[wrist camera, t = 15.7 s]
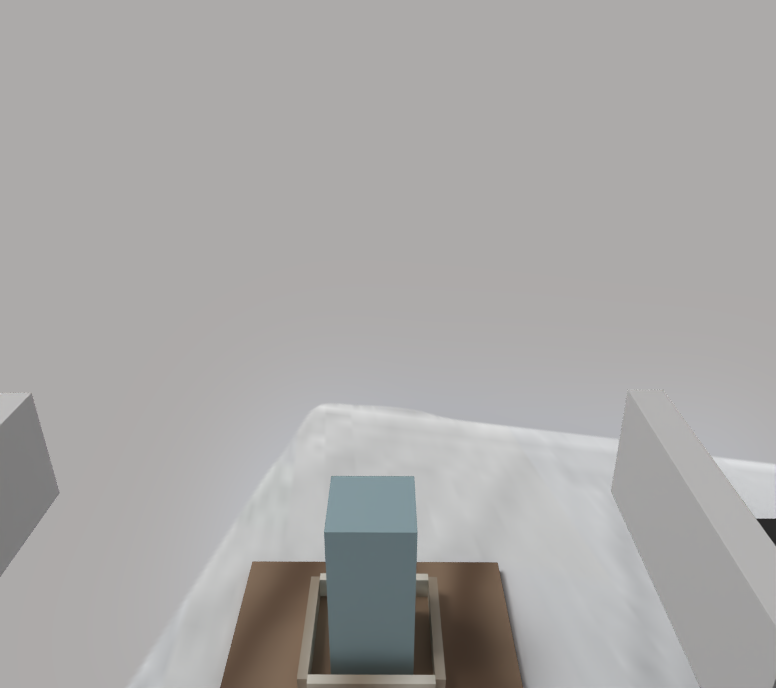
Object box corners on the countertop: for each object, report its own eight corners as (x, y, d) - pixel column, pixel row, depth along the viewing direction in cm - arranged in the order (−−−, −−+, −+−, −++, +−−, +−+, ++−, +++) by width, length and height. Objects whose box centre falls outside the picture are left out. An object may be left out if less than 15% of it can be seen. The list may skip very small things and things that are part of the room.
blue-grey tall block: (410, 610, 45) (414, 476, 41) (413, 675, 41) (417, 532, 36) (336, 610, 45) (331, 476, 41) (330, 674, 41) (324, 532, 36)
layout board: (496, 570, 50) (498, 546, 49) (533, 756, 37) (537, 728, 36) (253, 569, 50) (250, 545, 49) (207, 755, 37) (202, 727, 36)
